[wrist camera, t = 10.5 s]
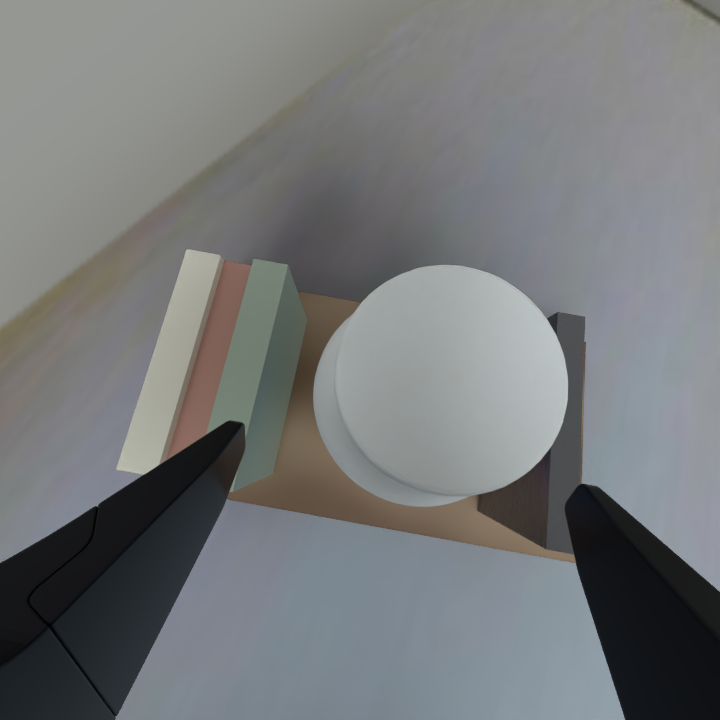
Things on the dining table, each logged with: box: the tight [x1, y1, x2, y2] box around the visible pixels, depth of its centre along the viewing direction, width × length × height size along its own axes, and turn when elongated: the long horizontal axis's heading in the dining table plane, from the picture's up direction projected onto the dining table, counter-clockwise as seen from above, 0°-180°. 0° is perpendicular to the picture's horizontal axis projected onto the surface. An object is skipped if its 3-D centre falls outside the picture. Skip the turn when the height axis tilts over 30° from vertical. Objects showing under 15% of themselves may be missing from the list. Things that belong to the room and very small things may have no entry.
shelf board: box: [227, 291, 586, 563], centre depth 18 cm, size 11×20×2 cm, turn 80°
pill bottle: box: [313, 265, 568, 507], centre depth 12 cm, size 6×6×11 cm
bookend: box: [477, 312, 585, 554], centre depth 15 cm, size 8×4×6 cm, turn 170°
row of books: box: [116, 249, 307, 492], centre depth 15 cm, size 8×4×6 cm, turn 170°
